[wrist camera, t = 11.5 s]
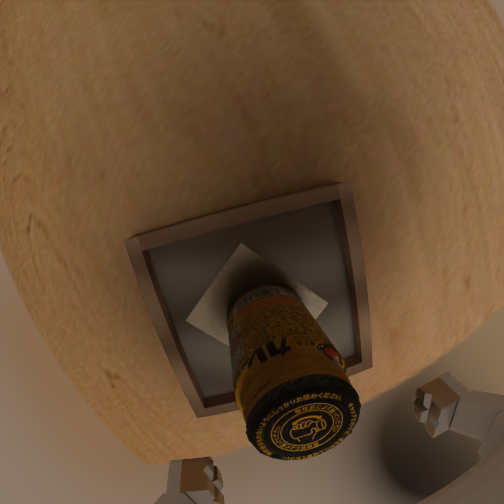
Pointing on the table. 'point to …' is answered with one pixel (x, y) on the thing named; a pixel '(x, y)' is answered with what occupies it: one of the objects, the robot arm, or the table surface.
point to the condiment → (278, 358)
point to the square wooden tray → (274, 251)
